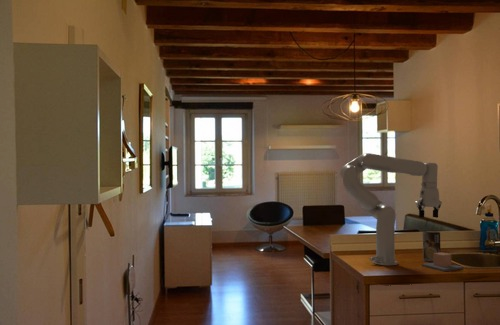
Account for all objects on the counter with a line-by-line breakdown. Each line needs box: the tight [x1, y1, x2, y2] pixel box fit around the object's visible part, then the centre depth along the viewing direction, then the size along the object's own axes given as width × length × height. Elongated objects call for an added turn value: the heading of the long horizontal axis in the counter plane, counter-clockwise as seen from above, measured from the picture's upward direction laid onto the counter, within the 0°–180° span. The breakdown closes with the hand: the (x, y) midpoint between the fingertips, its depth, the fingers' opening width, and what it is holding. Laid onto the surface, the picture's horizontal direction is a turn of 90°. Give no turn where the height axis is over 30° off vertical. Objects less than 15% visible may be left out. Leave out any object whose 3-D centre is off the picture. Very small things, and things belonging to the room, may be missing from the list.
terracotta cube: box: [432, 251, 452, 267], centre depth 227 cm, size 6×6×6 cm
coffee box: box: [422, 230, 442, 262], centre depth 244 cm, size 9×6×16 cm
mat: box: [421, 262, 464, 272], centre depth 227 cm, size 14×14×1 cm
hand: (428, 217), depth 236 cm, fingers open, 9 cm apart
